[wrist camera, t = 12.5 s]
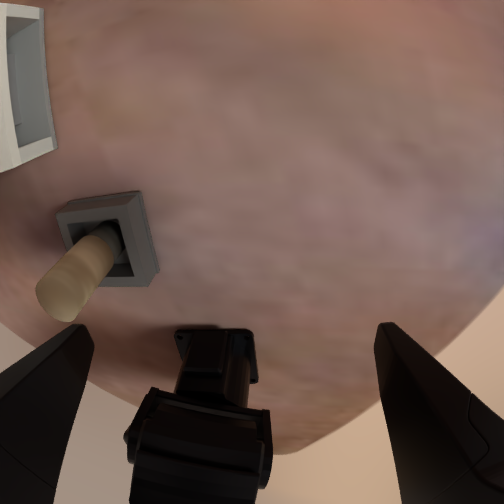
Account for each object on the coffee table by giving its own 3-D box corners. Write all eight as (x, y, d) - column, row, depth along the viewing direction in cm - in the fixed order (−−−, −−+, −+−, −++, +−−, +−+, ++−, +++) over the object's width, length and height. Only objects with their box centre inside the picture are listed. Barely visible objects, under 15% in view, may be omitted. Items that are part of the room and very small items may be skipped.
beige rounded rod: (132, 254, 21) (84, 323, 15) (100, 255, 22) (48, 320, 15) (123, 217, 20) (64, 279, 13) (89, 221, 20) (28, 279, 14)
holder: (159, 270, 22) (150, 287, 20) (92, 271, 23) (79, 287, 21) (141, 190, 19) (127, 203, 17) (70, 200, 20) (53, 212, 18)
